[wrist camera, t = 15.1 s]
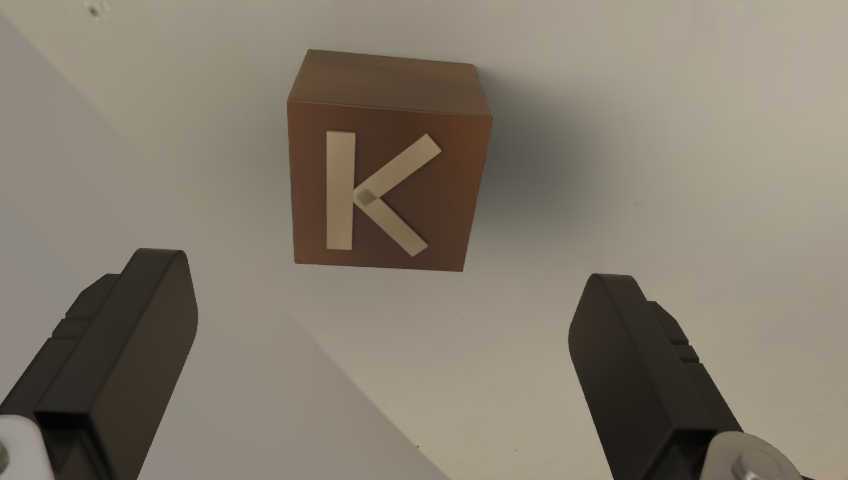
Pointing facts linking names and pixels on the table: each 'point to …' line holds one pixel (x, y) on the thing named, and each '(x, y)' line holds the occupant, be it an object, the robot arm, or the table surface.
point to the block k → (385, 160)
